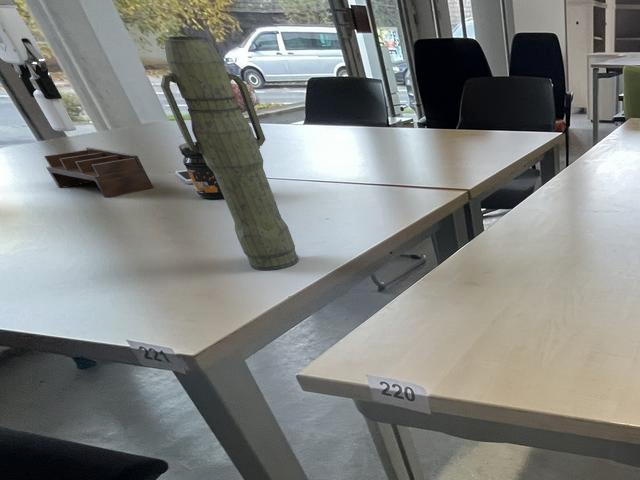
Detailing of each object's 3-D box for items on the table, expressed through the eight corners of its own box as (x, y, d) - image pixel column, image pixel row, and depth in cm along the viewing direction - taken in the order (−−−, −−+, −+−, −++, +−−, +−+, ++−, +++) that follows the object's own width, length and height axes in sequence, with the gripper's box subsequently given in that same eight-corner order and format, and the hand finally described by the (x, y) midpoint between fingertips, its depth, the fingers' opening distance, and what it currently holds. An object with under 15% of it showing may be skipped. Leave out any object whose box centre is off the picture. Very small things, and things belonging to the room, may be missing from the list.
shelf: (106, 197, 133) (87, 163, 128) (58, 187, 140) (37, 154, 135) (153, 187, 142) (137, 155, 137) (105, 178, 149) (88, 147, 144)
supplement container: (189, 198, 135) (165, 146, 127) (221, 188, 142) (200, 139, 135) (221, 201, 133) (199, 149, 125) (252, 191, 140) (233, 142, 133)
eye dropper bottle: (55, 132, 125) (20, 72, 118) (53, 129, 128) (18, 70, 121) (77, 130, 128) (44, 71, 120) (75, 127, 131) (42, 70, 123)
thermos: (315, 260, 102) (238, 37, 80) (253, 276, 96) (151, 37, 73) (294, 249, 107) (216, 36, 84) (234, 264, 100) (132, 35, 77)
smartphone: (202, 171, 157) (201, 167, 157) (216, 180, 149) (214, 176, 148) (176, 174, 153) (174, 170, 153) (188, 184, 145) (186, 180, 144)
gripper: (-51, -2, 112) (9, 96, 124) (-11, -2, 107) (47, 102, 118) (-8, -1, 117) (46, 94, 129) (32, 0, 112) (84, 99, 124)
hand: (46, 97), depth 124 cm, fingers closed on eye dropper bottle, 5 cm apart
